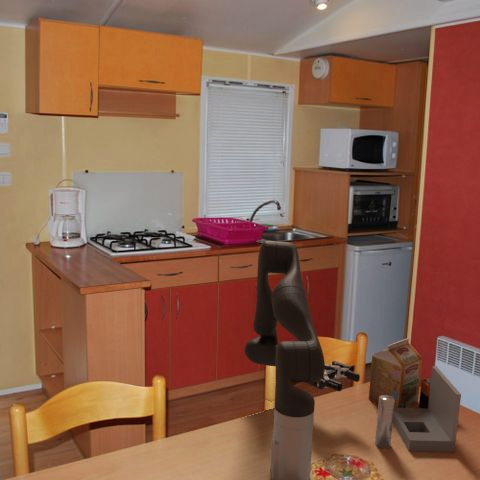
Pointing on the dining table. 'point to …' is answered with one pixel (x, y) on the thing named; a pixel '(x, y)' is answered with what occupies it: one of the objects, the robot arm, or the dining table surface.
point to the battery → (424, 393)
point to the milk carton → (396, 374)
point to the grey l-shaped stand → (431, 418)
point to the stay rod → (384, 421)
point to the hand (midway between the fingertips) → (350, 383)
